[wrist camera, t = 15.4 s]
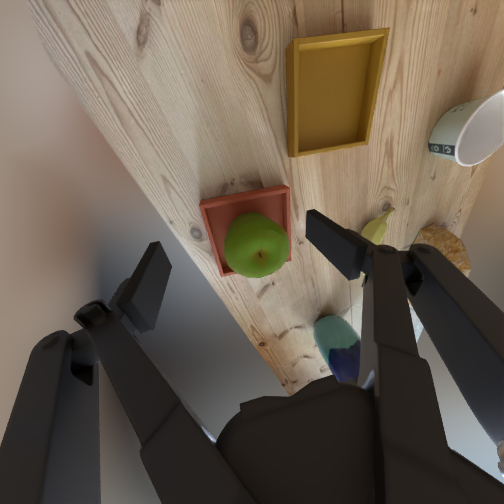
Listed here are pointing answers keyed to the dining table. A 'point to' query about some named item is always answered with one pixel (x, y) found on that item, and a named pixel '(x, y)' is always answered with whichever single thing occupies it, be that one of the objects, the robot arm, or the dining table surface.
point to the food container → (470, 130)
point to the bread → (446, 246)
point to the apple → (255, 245)
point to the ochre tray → (332, 90)
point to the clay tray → (231, 206)
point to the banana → (377, 228)
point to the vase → (339, 347)
